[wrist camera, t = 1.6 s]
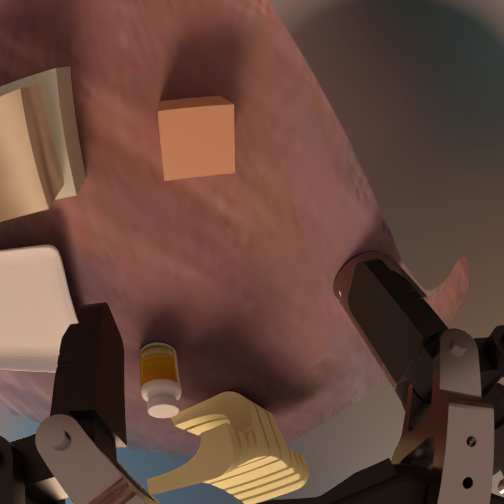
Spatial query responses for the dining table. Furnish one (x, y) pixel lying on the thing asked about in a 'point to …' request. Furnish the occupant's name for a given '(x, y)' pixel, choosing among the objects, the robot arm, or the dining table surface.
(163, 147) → the cube
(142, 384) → the supplement bottle
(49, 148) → the top block
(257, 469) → the slatted curved stool
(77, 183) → the base block
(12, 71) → the dining table surface
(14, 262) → the salad plate
